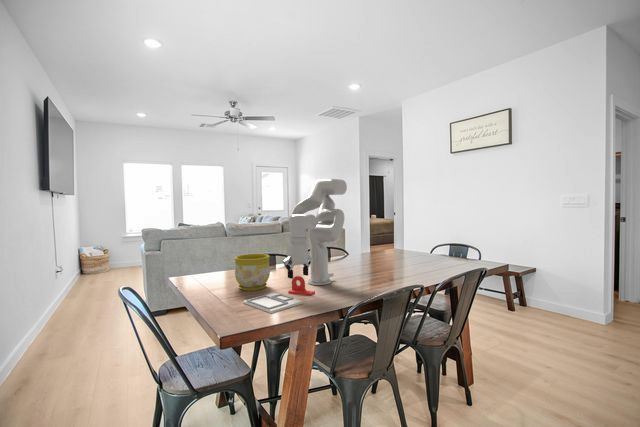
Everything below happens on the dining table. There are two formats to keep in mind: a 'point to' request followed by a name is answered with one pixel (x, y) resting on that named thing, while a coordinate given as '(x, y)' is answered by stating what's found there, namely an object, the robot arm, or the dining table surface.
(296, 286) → the bracket
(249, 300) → the fitting board
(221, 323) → the dining table surface
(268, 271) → the flowerpot
